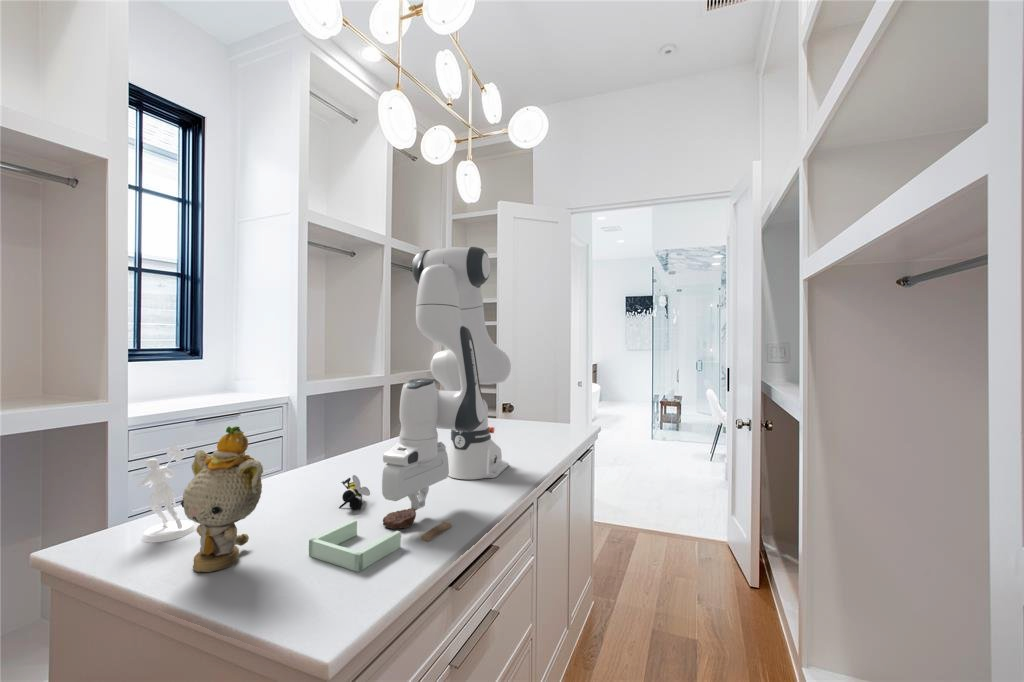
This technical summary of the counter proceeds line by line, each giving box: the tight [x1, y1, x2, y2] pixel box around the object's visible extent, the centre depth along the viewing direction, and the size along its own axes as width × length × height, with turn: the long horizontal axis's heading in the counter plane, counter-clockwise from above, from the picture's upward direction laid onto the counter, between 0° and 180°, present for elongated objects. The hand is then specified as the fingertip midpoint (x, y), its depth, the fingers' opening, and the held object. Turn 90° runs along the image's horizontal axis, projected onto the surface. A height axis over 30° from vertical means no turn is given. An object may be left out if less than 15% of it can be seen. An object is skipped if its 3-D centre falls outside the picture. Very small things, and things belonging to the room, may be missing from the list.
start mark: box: [420, 521, 452, 542], centre depth 94 cm, size 8×2×1 cm, turn 153°
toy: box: [338, 474, 371, 511], centre depth 111 cm, size 7×8×15 cm
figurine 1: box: [137, 443, 197, 544], centre depth 94 cm, size 10×10×18 cm
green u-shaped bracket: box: [308, 519, 402, 573], centre depth 86 cm, size 11×13×3 cm
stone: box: [382, 507, 417, 530], centre depth 98 cm, size 7×7×3 cm
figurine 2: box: [180, 426, 264, 573], centre depth 81 cm, size 11×18×25 cm, turn 61°
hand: (418, 507), depth 102 cm, fingers closed
